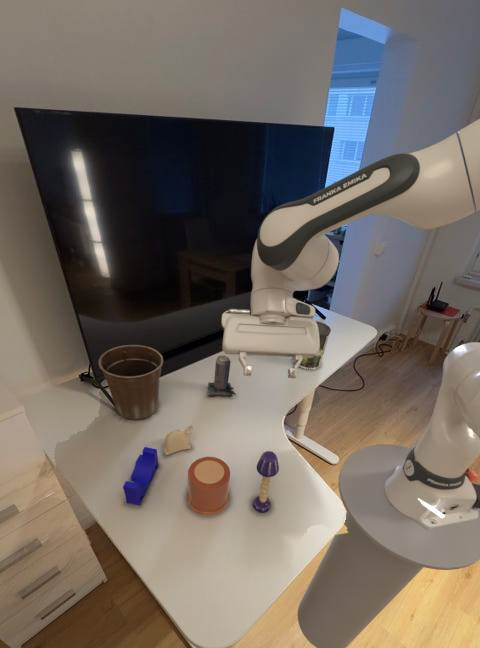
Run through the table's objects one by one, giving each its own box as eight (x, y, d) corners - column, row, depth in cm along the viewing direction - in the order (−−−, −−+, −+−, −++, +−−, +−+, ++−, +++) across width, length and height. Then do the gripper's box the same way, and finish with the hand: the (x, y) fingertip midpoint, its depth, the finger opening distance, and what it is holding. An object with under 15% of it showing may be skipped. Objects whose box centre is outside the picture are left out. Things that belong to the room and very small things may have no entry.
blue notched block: (141, 462, 85) (138, 445, 81) (158, 465, 85) (156, 449, 81) (120, 501, 76) (116, 484, 72) (139, 505, 76) (136, 489, 72)
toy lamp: (252, 514, 77) (262, 465, 66) (247, 497, 80) (256, 448, 69) (273, 511, 78) (285, 462, 67) (267, 495, 81) (278, 446, 70)
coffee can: (309, 373, 123) (318, 337, 113) (288, 360, 128) (295, 325, 118) (326, 364, 128) (336, 329, 119) (305, 352, 133) (313, 318, 124)
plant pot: (158, 386, 109) (153, 340, 98) (173, 417, 99) (170, 370, 88) (104, 396, 103) (94, 349, 92) (114, 431, 93) (104, 382, 82)
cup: (228, 481, 83) (230, 455, 77) (229, 515, 76) (232, 489, 70) (188, 480, 82) (188, 454, 76) (186, 515, 75) (185, 489, 69)
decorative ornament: (161, 445, 90) (159, 430, 87) (191, 437, 93) (191, 423, 90) (165, 455, 88) (164, 441, 84) (196, 447, 91) (196, 433, 87)
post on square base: (229, 383, 114) (232, 351, 106) (236, 397, 108) (239, 364, 100) (202, 386, 111) (203, 353, 103) (208, 400, 106) (209, 367, 98)
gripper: (222, 301, 67) (220, 371, 67) (322, 308, 70) (322, 375, 69) (220, 313, 74) (219, 377, 73) (313, 319, 76) (312, 381, 75)
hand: (269, 376), depth 71 cm, fingers open, 8 cm apart
